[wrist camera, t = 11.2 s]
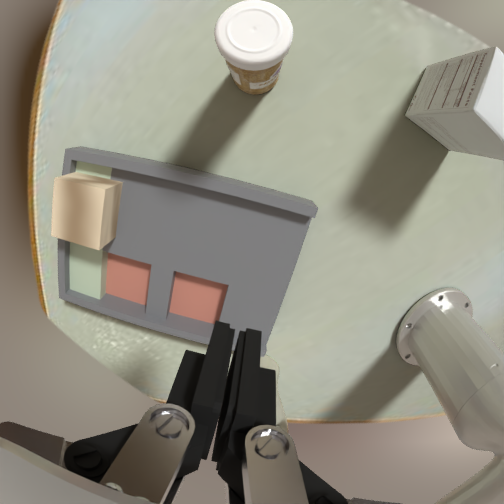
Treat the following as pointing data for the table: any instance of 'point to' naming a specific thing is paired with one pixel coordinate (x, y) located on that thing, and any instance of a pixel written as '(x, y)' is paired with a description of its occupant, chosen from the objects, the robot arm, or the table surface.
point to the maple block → (85, 209)
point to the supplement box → (464, 103)
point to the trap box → (185, 249)
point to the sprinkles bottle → (254, 43)
